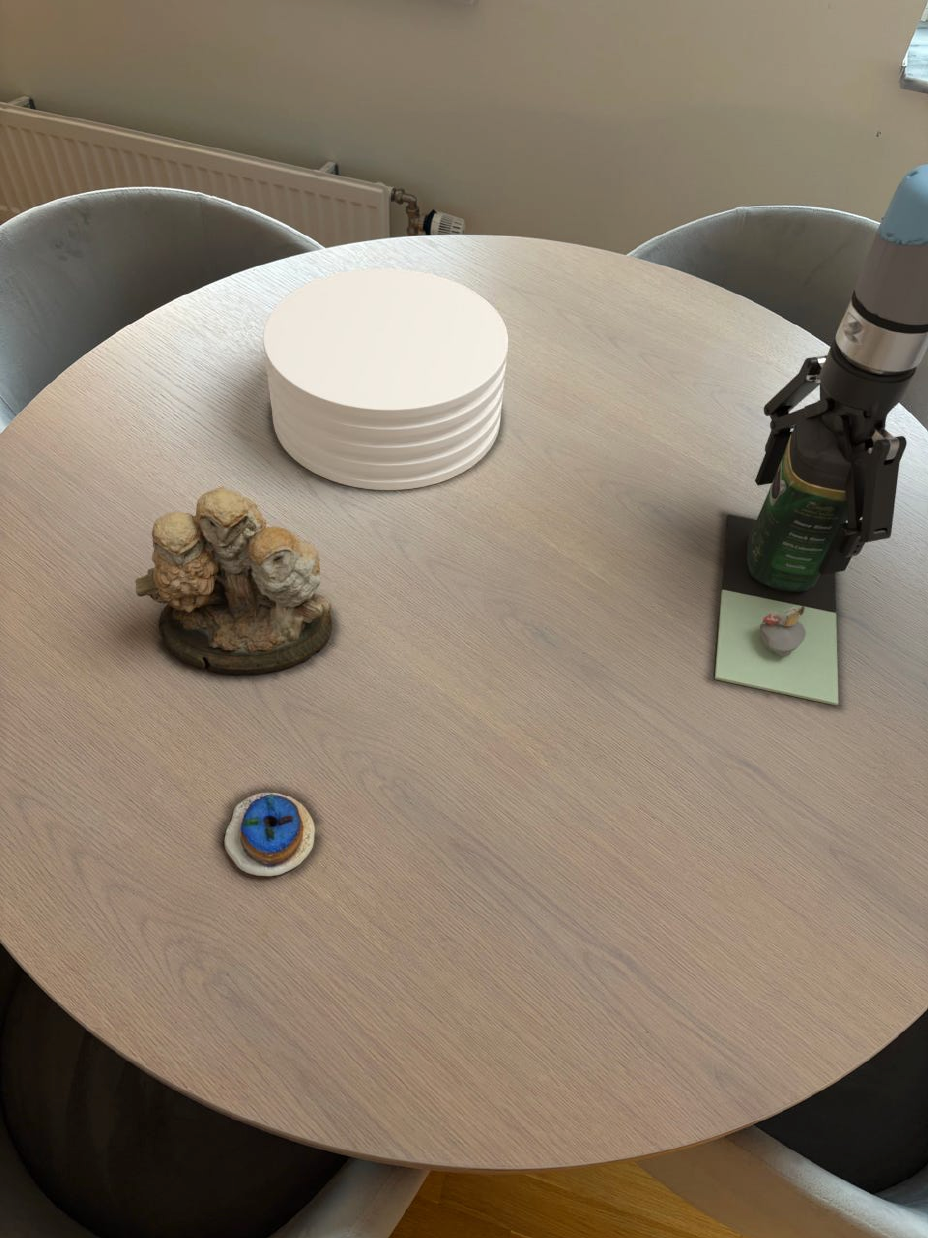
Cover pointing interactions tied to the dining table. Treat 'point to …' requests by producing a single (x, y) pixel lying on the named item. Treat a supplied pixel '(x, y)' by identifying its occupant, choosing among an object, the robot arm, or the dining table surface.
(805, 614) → the sorting mat
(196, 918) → the dining table surface
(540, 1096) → the dining table surface
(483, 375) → the plate stack
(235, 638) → the owl figurine
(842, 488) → the coffee jar
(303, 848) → the dessert
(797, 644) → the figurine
